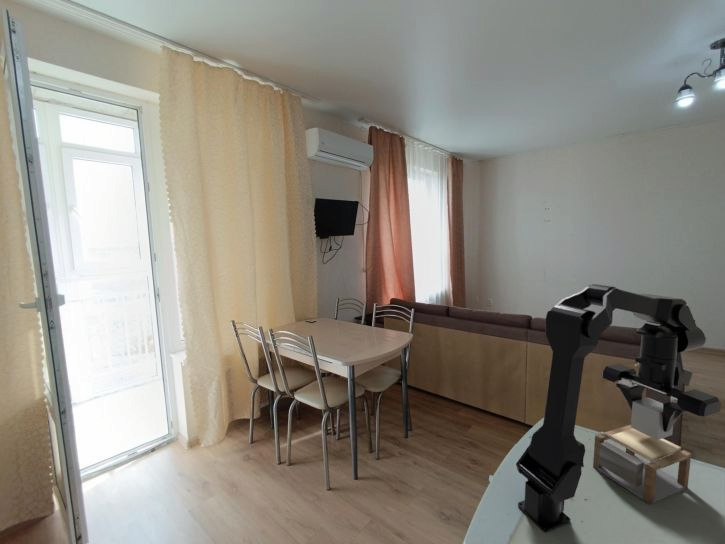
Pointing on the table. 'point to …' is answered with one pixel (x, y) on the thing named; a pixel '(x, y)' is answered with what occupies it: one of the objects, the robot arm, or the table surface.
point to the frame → (650, 464)
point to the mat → (663, 483)
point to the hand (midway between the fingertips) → (651, 424)
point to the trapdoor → (625, 462)
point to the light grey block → (649, 418)
